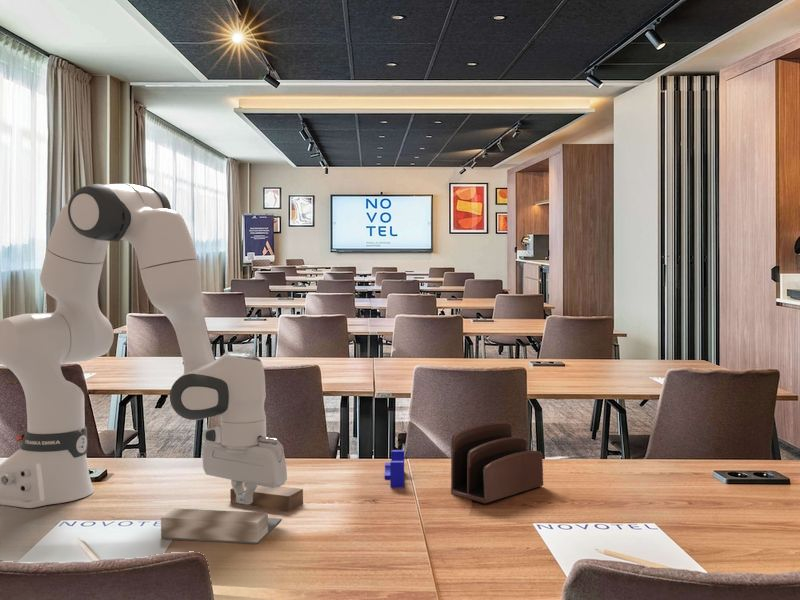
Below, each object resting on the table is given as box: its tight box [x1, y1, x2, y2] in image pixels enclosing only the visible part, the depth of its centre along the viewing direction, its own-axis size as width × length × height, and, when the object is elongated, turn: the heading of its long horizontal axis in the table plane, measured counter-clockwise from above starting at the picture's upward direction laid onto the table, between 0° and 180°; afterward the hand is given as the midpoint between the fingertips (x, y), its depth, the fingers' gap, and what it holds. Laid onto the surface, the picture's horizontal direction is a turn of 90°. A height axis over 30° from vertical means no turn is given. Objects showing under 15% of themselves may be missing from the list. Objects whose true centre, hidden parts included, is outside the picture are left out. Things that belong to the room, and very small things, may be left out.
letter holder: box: [450, 421, 544, 505], centre depth 160 cm, size 10×20×14 cm, turn 132°
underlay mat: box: [160, 517, 282, 545], centre depth 135 cm, size 18×13×1 cm
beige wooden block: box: [160, 507, 269, 542], centre depth 131 cm, size 18×5×4 cm, turn 81°
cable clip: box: [384, 449, 405, 488], centre depth 167 cm, size 12×4×6 cm, turn 179°
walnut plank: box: [230, 482, 304, 513], centre depth 150 cm, size 14×6×4 cm, turn 67°
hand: (244, 502), depth 145 cm, fingers closed
